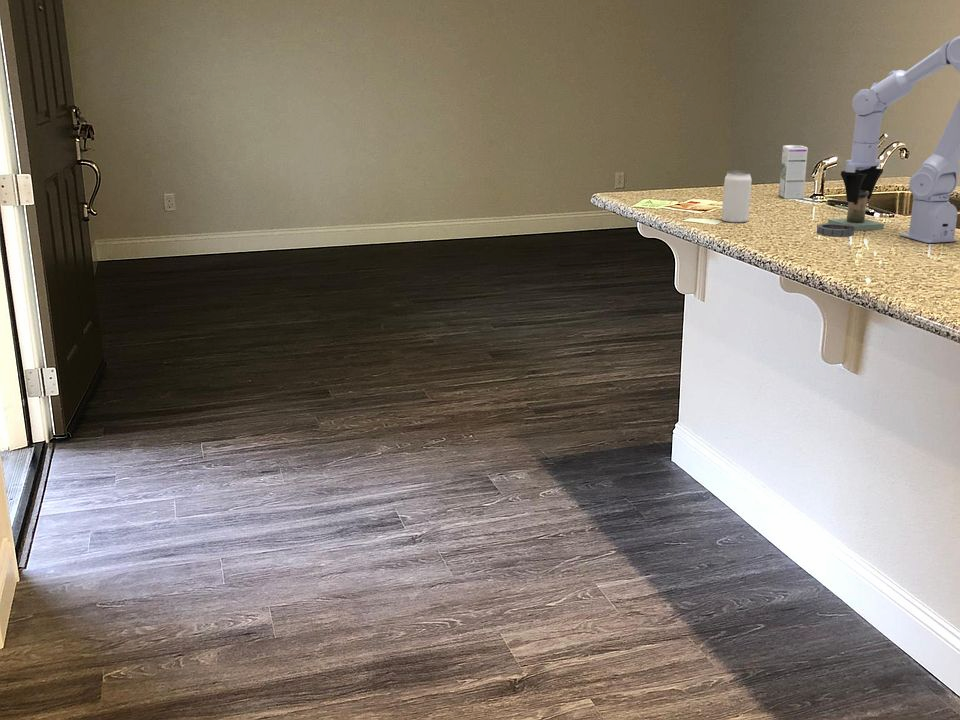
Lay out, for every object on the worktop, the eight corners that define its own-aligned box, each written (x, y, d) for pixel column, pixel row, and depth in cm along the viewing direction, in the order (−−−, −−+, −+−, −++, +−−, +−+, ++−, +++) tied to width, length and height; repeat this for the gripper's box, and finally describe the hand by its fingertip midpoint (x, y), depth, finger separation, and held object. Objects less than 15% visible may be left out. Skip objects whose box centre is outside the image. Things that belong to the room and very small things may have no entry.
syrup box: (804, 199, 276) (809, 146, 271) (783, 199, 276) (788, 146, 271) (798, 196, 281) (803, 144, 276) (777, 196, 281) (782, 144, 276)
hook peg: (868, 221, 235) (872, 189, 232) (860, 224, 232) (864, 192, 229) (850, 219, 238) (853, 188, 235) (841, 221, 235) (845, 190, 232)
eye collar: (860, 235, 225) (861, 229, 224) (830, 237, 222) (831, 230, 222) (839, 229, 232) (839, 223, 231) (809, 231, 230) (810, 224, 229)
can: (748, 223, 239) (753, 174, 235) (721, 222, 240) (725, 173, 236) (747, 219, 245) (751, 170, 241) (720, 218, 246) (724, 170, 242)
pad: (883, 228, 232) (884, 223, 232) (851, 230, 230) (851, 225, 230) (859, 222, 241) (859, 217, 240) (827, 224, 238) (828, 219, 238)
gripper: (861, 139, 237) (855, 195, 241) (835, 143, 227) (829, 201, 231) (891, 141, 232) (883, 198, 236) (865, 145, 222) (858, 205, 226)
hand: (858, 200), depth 233 cm, fingers open, 7 cm apart
